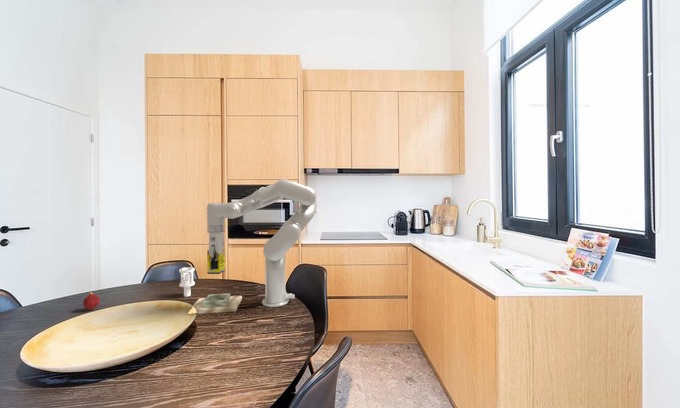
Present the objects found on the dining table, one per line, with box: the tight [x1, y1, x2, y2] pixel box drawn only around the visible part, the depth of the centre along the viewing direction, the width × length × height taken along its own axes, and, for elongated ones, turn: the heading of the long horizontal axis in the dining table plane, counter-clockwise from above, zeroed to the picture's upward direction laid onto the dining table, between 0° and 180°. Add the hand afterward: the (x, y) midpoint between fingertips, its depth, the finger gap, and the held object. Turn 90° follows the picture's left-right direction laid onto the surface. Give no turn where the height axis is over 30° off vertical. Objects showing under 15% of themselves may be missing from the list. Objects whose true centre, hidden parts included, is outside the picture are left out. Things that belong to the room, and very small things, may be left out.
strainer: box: [178, 267, 196, 298], centre depth 147 cm, size 7×7×15 cm
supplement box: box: [206, 248, 226, 275], centre depth 133 cm, size 6×6×11 cm
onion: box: [82, 291, 101, 311], centre depth 129 cm, size 6×6×8 cm
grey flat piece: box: [192, 293, 243, 315], centre depth 133 cm, size 20×16×4 cm
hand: (216, 266), depth 133 cm, fingers closed on supplement box, 6 cm apart
